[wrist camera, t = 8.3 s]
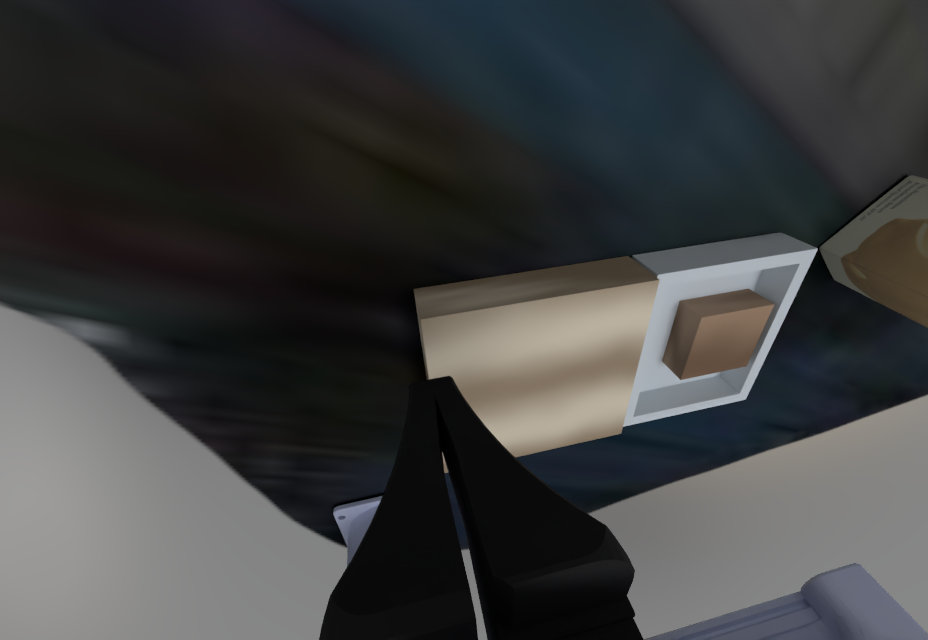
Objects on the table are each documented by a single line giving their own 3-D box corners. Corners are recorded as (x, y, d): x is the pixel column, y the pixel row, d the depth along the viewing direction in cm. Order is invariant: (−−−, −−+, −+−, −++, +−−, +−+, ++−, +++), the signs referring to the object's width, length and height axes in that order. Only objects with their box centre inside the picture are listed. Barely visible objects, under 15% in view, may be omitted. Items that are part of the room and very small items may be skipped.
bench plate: (599, 402, 30) (621, 433, 27) (435, 437, 28) (442, 473, 26) (628, 255, 23) (659, 279, 21) (413, 289, 21) (420, 319, 19)
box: (720, 377, 31) (745, 399, 29) (602, 401, 30) (620, 427, 28) (780, 232, 25) (818, 248, 23) (632, 255, 23) (658, 274, 21)
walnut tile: (680, 380, 26) (662, 361, 28) (746, 366, 27) (724, 348, 29) (701, 317, 24) (679, 300, 25) (774, 304, 24) (748, 288, 26)
